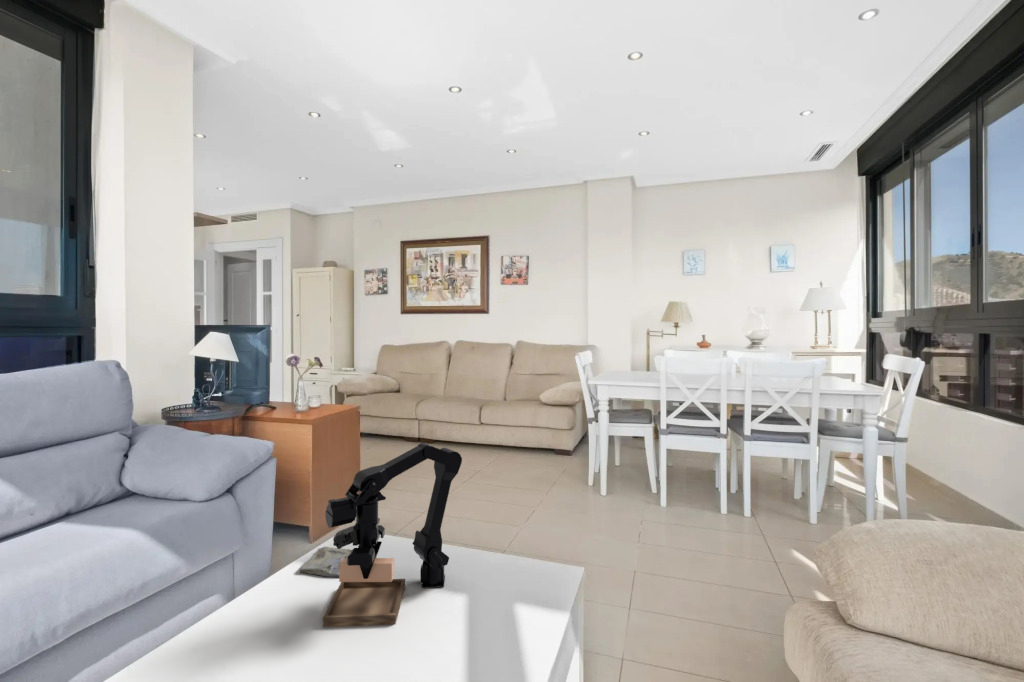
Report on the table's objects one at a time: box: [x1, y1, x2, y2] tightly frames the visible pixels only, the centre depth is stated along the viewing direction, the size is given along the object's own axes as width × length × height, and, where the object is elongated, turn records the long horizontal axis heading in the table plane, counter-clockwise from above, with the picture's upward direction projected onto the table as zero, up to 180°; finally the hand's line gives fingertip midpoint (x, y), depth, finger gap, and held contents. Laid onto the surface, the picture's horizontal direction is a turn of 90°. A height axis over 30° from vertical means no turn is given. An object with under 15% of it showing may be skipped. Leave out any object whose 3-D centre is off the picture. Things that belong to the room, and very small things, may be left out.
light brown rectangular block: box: [338, 557, 395, 583], centre depth 132 cm, size 14×3×5 cm, turn 91°
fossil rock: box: [299, 545, 353, 578], centre depth 155 cm, size 18×15×2 cm
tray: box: [322, 578, 406, 628], centre depth 132 cm, size 18×18×2 cm
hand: (367, 575), depth 132 cm, fingers closed on light brown rectangular block, 3 cm apart
